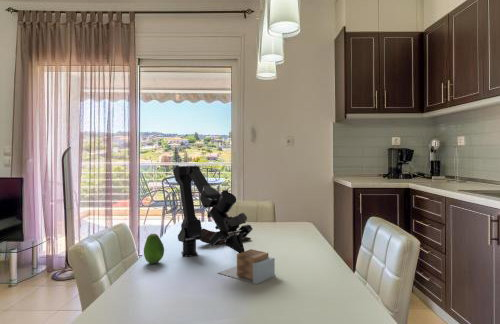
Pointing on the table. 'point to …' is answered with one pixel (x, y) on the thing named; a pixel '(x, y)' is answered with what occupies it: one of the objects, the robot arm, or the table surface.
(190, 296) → the table surface
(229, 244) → the robot arm
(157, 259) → the fruit
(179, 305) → the table surface
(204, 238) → the stone
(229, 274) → the gray angle bracket
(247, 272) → the walnut block
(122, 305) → the table surface
